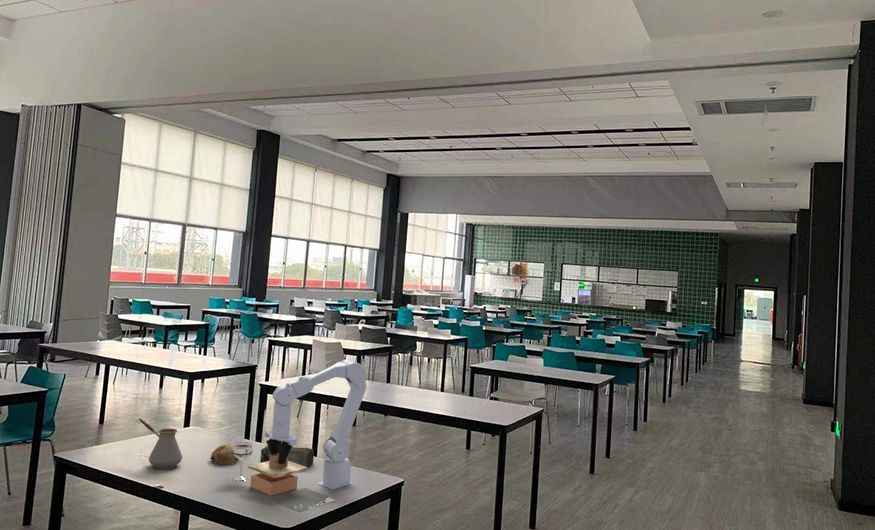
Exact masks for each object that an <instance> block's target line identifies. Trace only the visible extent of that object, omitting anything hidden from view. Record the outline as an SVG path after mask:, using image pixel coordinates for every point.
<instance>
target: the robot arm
mask: <svg viewBox="0 0 875 530" xmlns="http://www.w3.org/2000/svg"><path fill="white" fill-rule="evenodd" d="M366 373H367V371H366V370H365V368H364V367H363V365H362V364H360V363H359V362H355V361H354V360H352V359H343V360H342V361H338V362H336V363H335V364H333V365H331V366H329V367H327V368H325V369H324V370H321V371H320V372H317V373H316V374H314V375H312V376H310V377H309V376H306V375H305V376H303V375H301V376H298V378H297V379H296V380H294V381H291V382H290V383H289V382H287V383H285V385H280V386H277V387H276V388H275V390H273V393H272V398H273V400H274V405H273V413H272V414H273V415H272V416H273V417H272V429H271V430H265V431H264V436H263V437H265V438H269V439H268V440H266V441H265V442H266V446H268V447H269V450H270V455H272V454H276V453H279V464H285V462H286V459H287V456H288V454H289V452H290V450H291V448H292V447H294V446H296V445H297V440H298V439H297V438H294V437H293V436H291V435H290V426H291V415H292V414H291V412H292V403H293V402H294V400H296V399H298V398H300V397H303V396H305V395H307V394H309V393H310V392H313V390H314V387H315V386H318V385H320V384H323V383H324V382H327V381H329V380H331V379H334V378H340V379H345V380H346V382H347V383H348V386H349V387H350V388H349V392H348V394H347V397H346V400H345V403H344V405H343V407H342V409H341V412H340V415H339V417H338V420H337V423H336V425H335V428H334V430H333V431H332V432H331V433H330V434H329V436H328V438H327V439H326V440H325V442H323V446H322V447H323V452H324V453H325V456H324V462H323V475H322V481H320V482H317V484H318V485H320V486H323V487H325V488H328V489H331V490H335V489H339V488H341V487H345V486H348V485H352V482H351V472H352V471H351V469H352V465H351V460H350V459H349V458H347V457H348V454H349V449H348V448H349V444H350V439H349V438H350V437H349V435H350V433H351V430H352V427H353V425H354V422H355V419H356V417H357V414H358V411H359V408H360V407H361V403H362V401H363V399H364V395H365V394H366V390H367V381H366Z"/></svg>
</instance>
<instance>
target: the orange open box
mask: <svg viewBox="0 0 875 530" xmlns="http://www.w3.org/2000/svg"><path fill="white" fill-rule="evenodd" d="M298 479H299V478H298V475H294V473H293V474H289V475H285V476H281V477H277V478H273V477H270V476H268V475H265V474H263V473H260V472H258V473H254V474H251V475H250V485H249V487H250V488H252V489H254V490H256V491H258V492H261V493H263V494H266V495H268V496H271V497H272V496H274V495H275V496H276V495H279V494H283V493H286V492H288V491H289V492H290V491H294V490H295V489H296V490H297V489H298Z"/></svg>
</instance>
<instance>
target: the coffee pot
mask: <svg viewBox="0 0 875 530" xmlns="http://www.w3.org/2000/svg"><path fill="white" fill-rule="evenodd" d="M138 421H139V424H142V425H144V427H145V428H147V429H148V430H149V431H151V432H152V433H153V434H155V436H157V437H158V438H157V439H158V440H157V441H156V443H155V445H154V447H153V448H152V449H153V450H152V451H151V453H150V455H149V457H148V462H149V464H150V465H152V466H153V468H155V469H161V470H163V469H164V470H165V469H172V468H175V467H176V466H177V465H178V464H180V463H181V462H182V460H183V455H182V451H181V449H180V446H179V444H178V441H177V438H176V433H177V432H178V430H177V429H176V428H163V429H159V430H158V432H157V431H156V430H155V429H154V428H153V426H152V425H150V424H149V423H147V422H146V421H145V420H143V419H142V418H139V419H138V420H137V421H136V422H138Z"/></svg>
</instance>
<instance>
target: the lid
mask: <svg viewBox="0 0 875 530" xmlns="http://www.w3.org/2000/svg"><path fill="white" fill-rule="evenodd" d="M247 468H248V469H250V470H253V471H255V472H258V473H263V474H265V475H268V476H270V477H273V478H277V477H281V476H285V475H289V474H293V475H294V474H297V473H301V472H305V471H308V469H309V468H308V467H305V466H302V465H299V464H296V463H293V462H290V461H288V456H287V459H286V462H285V464H279V453H276V454H272V455H270V460H269V461H267V462H262V463H260V462H257V463H253V464H250V465H248V466H247Z"/></svg>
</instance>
